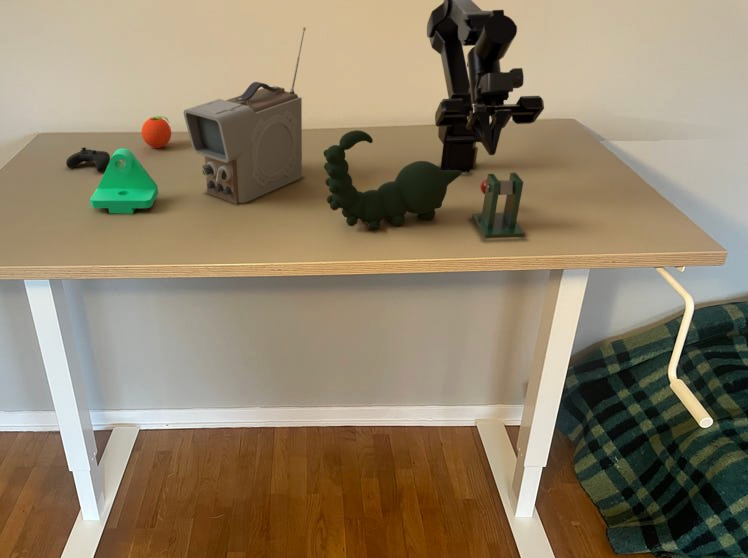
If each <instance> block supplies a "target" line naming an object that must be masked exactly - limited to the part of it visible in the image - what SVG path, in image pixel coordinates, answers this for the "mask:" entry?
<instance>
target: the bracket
mask: <svg viewBox="0 0 748 558" xmlns="http://www.w3.org/2000/svg"><path fill="white" fill-rule="evenodd" d="M486 179H487V183H486V190H485V194H484V196H483V204H482V210H481V213H472V215H471V218H472V220H473V221H474V223H475V224H476V226H477V228H478V229H479V231H480V233H481V234H482V236H483V237H484V239H502V238H504V239H505V238H506V239H507V238H524V237H525V232H524V230H523V229H522V228H521V226H520V225H519V223H518V222H517V220H518V215H519V209H520V203H521V199H522V193H523V186H524V181H523V180H522V179H521V177H520V176H519V175H518V174H517V173H516V172H510V173H509V179H508V180H513V192H512V195H505V196H506V197H505V203H504V208H503V212H497V207H498V200H499V196H500V195H499V189H500V182H499V181H500V180H499V179H498V177H497V176H496V174H494V173H487V178H486Z"/></svg>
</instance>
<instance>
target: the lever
mask: <svg viewBox="0 0 748 558" xmlns="http://www.w3.org/2000/svg"><path fill="white" fill-rule="evenodd" d="M499 182H500V189H499V195H498V196H507V195H512V192H513V180H509V179H503V180H502V179H501V180H499ZM486 183H487V178H485V179H484V180H483V181H482V182H481V184H480V191H481V193H482V194H483V195H485V190H486Z"/></svg>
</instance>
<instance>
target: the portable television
mask: <svg viewBox="0 0 748 558" xmlns="http://www.w3.org/2000/svg"><path fill="white" fill-rule="evenodd" d="M302 30H303V31H302V36H301V39H300V40H301V41H300V45H299V51H298V56H297V58H296V64H295V69H294V74H293V77H292V83H291V88H290V91H286V90H285V88H284V87H280V86H276V85H275V86H270V85H269V84H267V83H264V82H260V81H254V82H252V83H250V84H249V86H248V87H247V88H246V90H245V91H244V92H243V93H242V94H240V95H238V96H235V97H231V98H228V99H226V100H224V99H221V98H218V99H215V100H211V101H208V102H205V103H201V104H199V105H196V106H193V107H189V108H186V109H184V110H183V117H184V121H185V125H186V129H187V132H188V137H189V140H190V143H191V147H192V150H193V151H194V152H195V153H196V154H198V155H201V156H204V164H203V165H202V166H201V168H202V174H203V175H204V176H205V178H206V191H207V194H208V195H210V196H213V197H215V198H219V199H221V200H224V201H226V202H230V203H233V204H235V205H238V204H245V203H248V202H250V201H252V200H255V199H258V198H259V197H261V196H264V195H266V194H268V193H270V192H273V191H276V190H278V189H280V188H282V187H284V186H286V185H288V184H290V183H293V182H295V181H298V180H300V179H302V178H303V177H302V176H303V174H302V173H303V168H302V167H303V158H302V157H303V152H302V151H303V149H302V148H303V146H302V145H303V140H302V139H303V135H302V134H303V133H302V132H303V131H302V129H303V128H302V127H303V124H302V123H303V120H302V118H303V117H302V116H303V115H302V114H303V110H302V104H303V103H302V97H300V96H298V94H297V93H295V89H294V88H295V83H296V78H297V73H298V68H299V63H300V59H301V58H300V56H301V51H302V45H303V41H304V35H305V31H306V30H307V28H306V27H305V26H304V27H302Z"/></svg>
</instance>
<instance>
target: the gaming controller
mask: <svg viewBox="0 0 748 558" xmlns="http://www.w3.org/2000/svg"><path fill="white" fill-rule="evenodd" d="M110 159H111V155H110V153H109V152H108V151H104V150H96V149H89V148H87V147H85V146H83V147H81V149H80V151H78V152H75V153H73V154H72V155H70V156H69V157H68V158H67V159H66V161H65V162H66V163H65V164H66V167H67V168H69V169H74V168H76V167H77V166H79V165H80V164H81V163H83V162H87V163H88V162H91V161H93V162H94V164H95V169H96V171H97V173H102V172H105V170H106V168H107V166H108V164H109V161H110Z"/></svg>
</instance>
